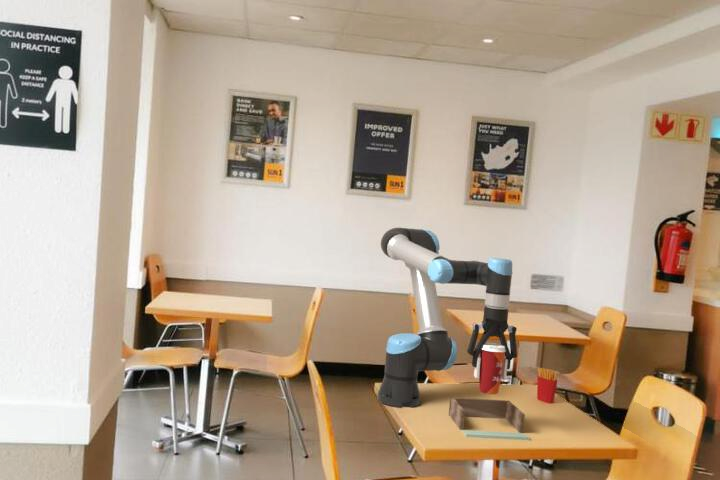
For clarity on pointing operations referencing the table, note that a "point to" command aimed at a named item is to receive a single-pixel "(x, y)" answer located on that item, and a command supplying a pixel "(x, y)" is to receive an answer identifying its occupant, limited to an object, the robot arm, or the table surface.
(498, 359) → the coffee cup
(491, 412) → the crate
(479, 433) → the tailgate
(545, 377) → the french fries
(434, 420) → the table surface
